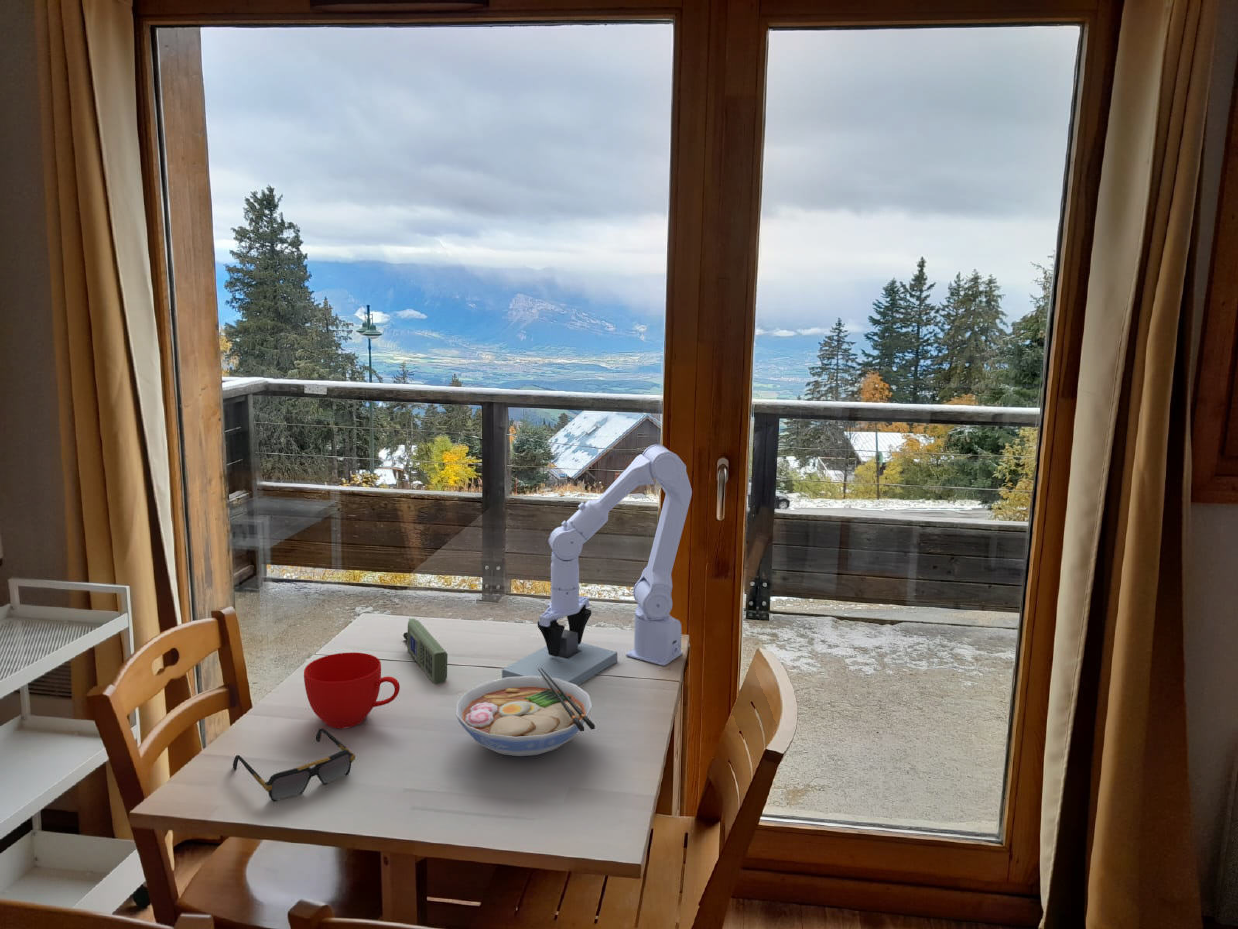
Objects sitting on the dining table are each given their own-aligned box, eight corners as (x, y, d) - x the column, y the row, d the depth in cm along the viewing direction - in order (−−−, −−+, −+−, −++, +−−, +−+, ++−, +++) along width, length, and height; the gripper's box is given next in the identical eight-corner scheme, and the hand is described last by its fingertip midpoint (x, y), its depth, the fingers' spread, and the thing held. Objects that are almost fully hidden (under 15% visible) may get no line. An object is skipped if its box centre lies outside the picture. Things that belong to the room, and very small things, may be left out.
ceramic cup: (383, 744, 150) (381, 688, 148) (291, 733, 154) (288, 678, 152) (415, 709, 163) (414, 657, 161) (330, 700, 166) (327, 649, 164)
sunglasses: (317, 742, 152) (315, 714, 151) (359, 778, 141) (357, 748, 140) (232, 770, 142) (230, 741, 141) (270, 811, 131) (268, 780, 130)
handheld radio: (432, 686, 173) (397, 641, 195) (448, 683, 175) (412, 639, 196) (432, 653, 172) (398, 612, 194) (449, 651, 174) (413, 610, 195)
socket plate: (617, 661, 185) (617, 652, 185) (559, 696, 169) (559, 686, 168) (562, 646, 193) (562, 637, 192) (502, 679, 176) (502, 669, 176)
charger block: (577, 660, 186) (577, 632, 185) (566, 666, 182) (566, 638, 181) (562, 655, 188) (562, 628, 187) (550, 662, 185) (550, 634, 183)
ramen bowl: (443, 722, 158) (441, 679, 156) (566, 703, 166) (566, 661, 165) (472, 796, 135) (471, 746, 134) (614, 769, 143) (615, 722, 142)
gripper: (569, 573, 190) (569, 634, 193) (527, 591, 178) (527, 656, 181) (597, 579, 186) (597, 641, 189) (555, 598, 174) (555, 664, 177)
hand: (564, 649), depth 185 cm, fingers open, 7 cm apart
